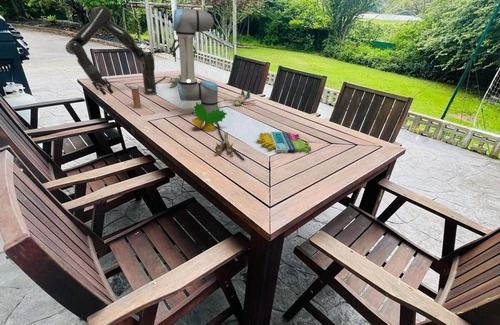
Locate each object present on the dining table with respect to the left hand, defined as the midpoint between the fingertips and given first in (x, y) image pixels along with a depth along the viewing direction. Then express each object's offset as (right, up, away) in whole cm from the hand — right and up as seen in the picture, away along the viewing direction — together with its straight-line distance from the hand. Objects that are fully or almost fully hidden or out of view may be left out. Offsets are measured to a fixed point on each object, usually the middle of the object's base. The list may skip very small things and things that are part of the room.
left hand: (108, 93), depth 183 cm
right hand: (+46, +33, +28) cm, 63 cm away
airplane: (+29, +31, +79) cm, 90 cm away
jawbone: (+86, -42, -45) cm, 106 cm away
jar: (+17, -8, +8) cm, 20 cm away
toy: (+92, +3, +38) cm, 100 cm away
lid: (+18, +6, +1) cm, 19 cm away
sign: (+118, -37, -31) cm, 127 cm away
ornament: (+74, -27, -18) cm, 81 cm away
